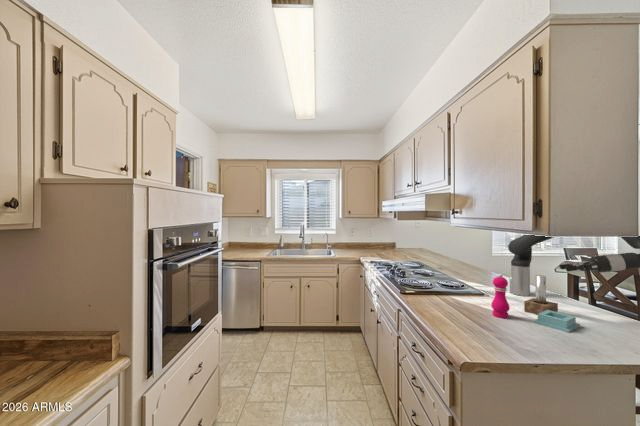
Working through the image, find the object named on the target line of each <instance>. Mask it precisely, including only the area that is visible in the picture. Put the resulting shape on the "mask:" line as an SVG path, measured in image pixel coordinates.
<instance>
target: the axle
mask: <svg viewBox="0 0 640 426" xmlns="http://www.w3.org/2000/svg"><path fill="white" fill-rule="evenodd" d="M535 299H536V303H540V304H544V305H545V304H546V301H547V276H546V275H541V274H536V275H535Z"/></svg>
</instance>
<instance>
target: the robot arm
mask: <svg viewBox="0 0 640 426" xmlns="http://www.w3.org/2000/svg"><path fill="white" fill-rule="evenodd" d="M553 238H554V237H545V236H535V235H525V234H523V235H521V236H519V237H517V238H514V239H512V240H511V241H510V242H509V243H508V246H507V248H508V251H509V252H510V253H511V254H513V255H514V256H513V258H512V259H511V261H510V268H511V269H510V270H511V271H510V275H511V276H510V277H509V293H510V294H513V295H515V296H521V297H529V296H531V263H532V257H533V253H532V252H533V249H532V247H533V246H535V245H537V244H540V243H542V242H545V241H548V240H550V239H551V240H552V239H553ZM620 238H621V239H622V240H623V241H624V242H626V243H627V245H629V246H630V247H631V248H633V249H635V250H640V236H638V237H620ZM589 260H590V261H589ZM589 260H588V261H587V260H581V261H573V262H572V261H571V262H568V263H564V264H559V269H561V270H565V271H566V272H573V271H578V272H585V271H593V270H594V272H596V273H597V274H598V273H610V272H619V271H623V270H625V271H626V270H633V269H634V270H635V269H640V253H635V252H623V253H611V254H610V253H609V254H603V255H600V254H599V255H594V256H593V255H592V256H591V257H590V259H589Z"/></svg>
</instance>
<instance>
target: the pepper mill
mask: <svg viewBox="0 0 640 426" xmlns="http://www.w3.org/2000/svg"><path fill="white" fill-rule="evenodd" d="M492 285H494V286H493V288H494V289H493V290H494V298H493V299H492V302H491V309H493V310H492V315H493V316H494V317H496V318H499V319H508V318H509V310H510V309H511V308H510V304H509V301H508V300H507V297H506V293H507V287H508V285H509V283H508V280H507V279H506V278H505V277H503V274H502V273H498V274H497V276H496V277H494V278H493V280H492Z"/></svg>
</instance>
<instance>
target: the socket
mask: <svg viewBox="0 0 640 426" xmlns="http://www.w3.org/2000/svg"><path fill="white" fill-rule="evenodd" d="M576 319H577V318H576V316H574V315H569V314H565V313H561V312H559V311H558V312H554V311H550V310H546V311H544V312H541V313H539V314H538V315H537V319H534V320H533V323H534V324H537V325H541V326H544V327H549V328H551V329H555V330H559V331H563V332H565V333H571V332H572V331H574V330H577V328H579V327H581V326H580V325H581V324H580V323H577V320H576Z"/></svg>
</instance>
